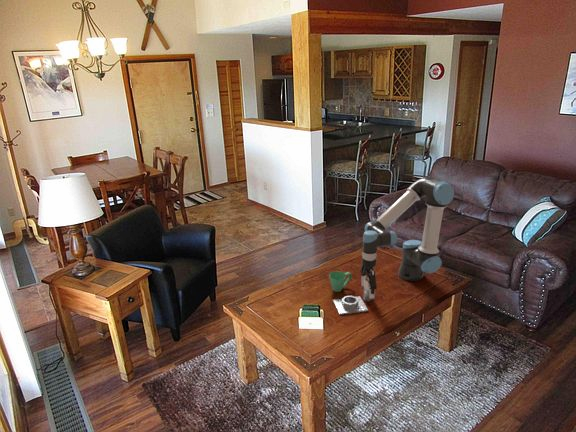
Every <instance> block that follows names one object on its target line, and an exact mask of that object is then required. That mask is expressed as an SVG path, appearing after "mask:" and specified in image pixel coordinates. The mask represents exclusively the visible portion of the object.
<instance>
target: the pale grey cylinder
mask: <svg viewBox="0 0 576 432" xmlns="http://www.w3.org/2000/svg"><path fill="white" fill-rule="evenodd" d="M369 288H370V283H369V278H368V277H367V278H366V279H364V286H363V297H362V300H363V301H364V302H371V301H372V300H373V298H372V299H369V292H370V289H369Z"/></svg>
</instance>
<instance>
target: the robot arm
mask: <svg viewBox="0 0 576 432" xmlns="http://www.w3.org/2000/svg"><path fill="white" fill-rule="evenodd" d="M406 190H407V191H406V192H405V193H403V195H401V196H400V197H399V198H398V199H396V201H394V203H393V204H392V205H390V206H389V207H388V208H387V209H386V210H385V211H384V212H383V213H382V214H381V215H380V216H379V217H378V218H377V219H376V220H375V221H369V222H367V223H366V224H365V226H364V232H363V236H362V253H361V256H362V260H361V268H360V271H359V272H360V273H361V275H360V276H361V280H360V281H361V282H360V284H361V285H360V286H361V287H364V279H366V278H369V283H370V288H369V289H370V292H369V299H372V300H373V299H375V296H376V295H375V293H376V290H377V289H378V288H377V279H376V271H375V270H374V267H376V265H377V252H378V251H377V250H378V248H383V247H389V246H393V245H394V246H395V245H396V244H397V243H398V235H397V232H395V231H394V230H391V231H386V230H387V228H389V227H390V226H391V225H392V224H393V223H394V222H395V221H396V220H397V219H399V218H400V217H401V216H402V214H404V213H405V212H406V211H407V210H409V208H410V207H411V206H412V205H413V204H414V203H416V202H417V201H420V200H422V199H423V198H425V201H424V202H425V203H424V204H425V205H426V206H427V209H426V213H425V218H424V219H425V220H424V226H423V233H422V239H421V240H418V239H409V240H405V241H403V244H402V253H401V254H402V255H401V264H400V266H399V268H398V272H397V275H398V277H399V278H401V279H402V280H405V281H408V282H417V281H420V280H422V279H423V278H424V273H426V274H433V273H436V272H437V271H438V270H439V269H440V268H441V266H442V261H443V260H442V259H441V257H440V256H439V255H440V250H439V248H438V243H439V237H440V232H441V226H442V220H443V214H444V211H445V210H444V209H445V208H447V207H448V204H450V203H451V201H453V199H454V197H455V191H454V188H453V186H452V185H451V183H448V182H446V181H444V180H441V179H437V178H435V177H433V176H425V177H421V178H419V179H418V180H416V181H414V182H413V183H411V185H409V186H408V187H407V188H406Z"/></svg>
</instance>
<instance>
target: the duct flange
mask: <svg viewBox="0 0 576 432" xmlns="http://www.w3.org/2000/svg"><path fill="white" fill-rule="evenodd" d="M332 301H333V302H332V303H333V304H334V306H335V308H336V310H337V314H338V315H339V316H344V314H345V315H351V314H352V313H353V314H360V312H361V313H366V312H367V311H368V312H369V309H368V308H367V306H366V303H364V302H365V301H364V300H363V298H361V296H360V295H358V296H353V295H345V296H344V297H342V298H334V299H332ZM368 312H367V313H368Z"/></svg>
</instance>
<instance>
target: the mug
mask: <svg viewBox="0 0 576 432" xmlns="http://www.w3.org/2000/svg"><path fill="white" fill-rule="evenodd" d="M347 276H348V277H347ZM328 277H329V281H330V285H331V289H332V291H334V292H335V293H340V292H341V291H342V290H343V288H344V287H346V286H347V285H348V284H349V282H350V281H351V280H352V273H351V272H350V271H346V272H343V271H340V270H337V271H336V270H334V271H331V272H330V273H329V275H328Z"/></svg>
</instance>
